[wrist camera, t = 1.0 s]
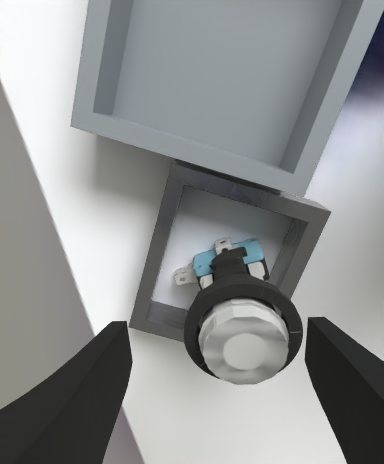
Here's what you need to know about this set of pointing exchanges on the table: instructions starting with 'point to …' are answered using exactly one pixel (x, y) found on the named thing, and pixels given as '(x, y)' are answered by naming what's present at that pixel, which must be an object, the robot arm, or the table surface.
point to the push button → (238, 315)
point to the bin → (223, 80)
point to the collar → (181, 173)
